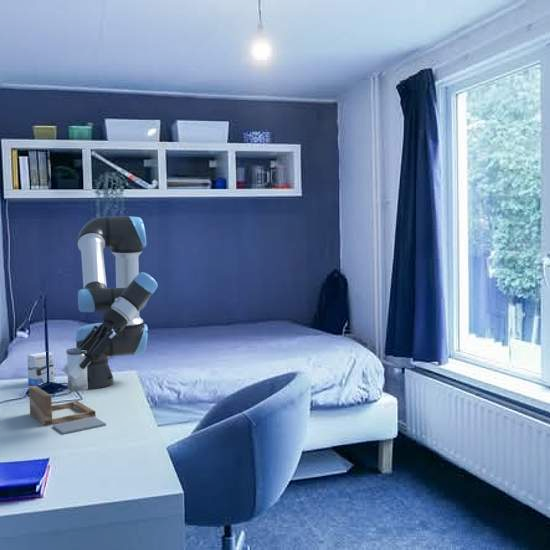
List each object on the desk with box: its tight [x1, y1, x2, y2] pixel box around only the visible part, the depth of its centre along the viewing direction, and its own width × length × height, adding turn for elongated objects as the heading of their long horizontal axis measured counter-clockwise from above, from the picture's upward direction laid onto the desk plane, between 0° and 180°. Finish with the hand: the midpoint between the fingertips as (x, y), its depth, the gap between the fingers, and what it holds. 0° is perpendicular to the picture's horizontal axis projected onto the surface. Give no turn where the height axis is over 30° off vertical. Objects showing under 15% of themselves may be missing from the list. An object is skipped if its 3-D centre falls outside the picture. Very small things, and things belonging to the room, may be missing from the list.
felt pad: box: [52, 416, 107, 435], centre depth 185 cm, size 13×9×1 cm
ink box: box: [27, 351, 55, 386], centre depth 239 cm, size 8×5×12 cm, turn 143°
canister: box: [65, 347, 89, 392], centre depth 184 cm, size 6×6×12 cm
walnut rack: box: [28, 385, 96, 427], centre depth 197 cm, size 16×16×9 cm
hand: (68, 374), depth 182 cm, fingers closed on canister, 5 cm apart
